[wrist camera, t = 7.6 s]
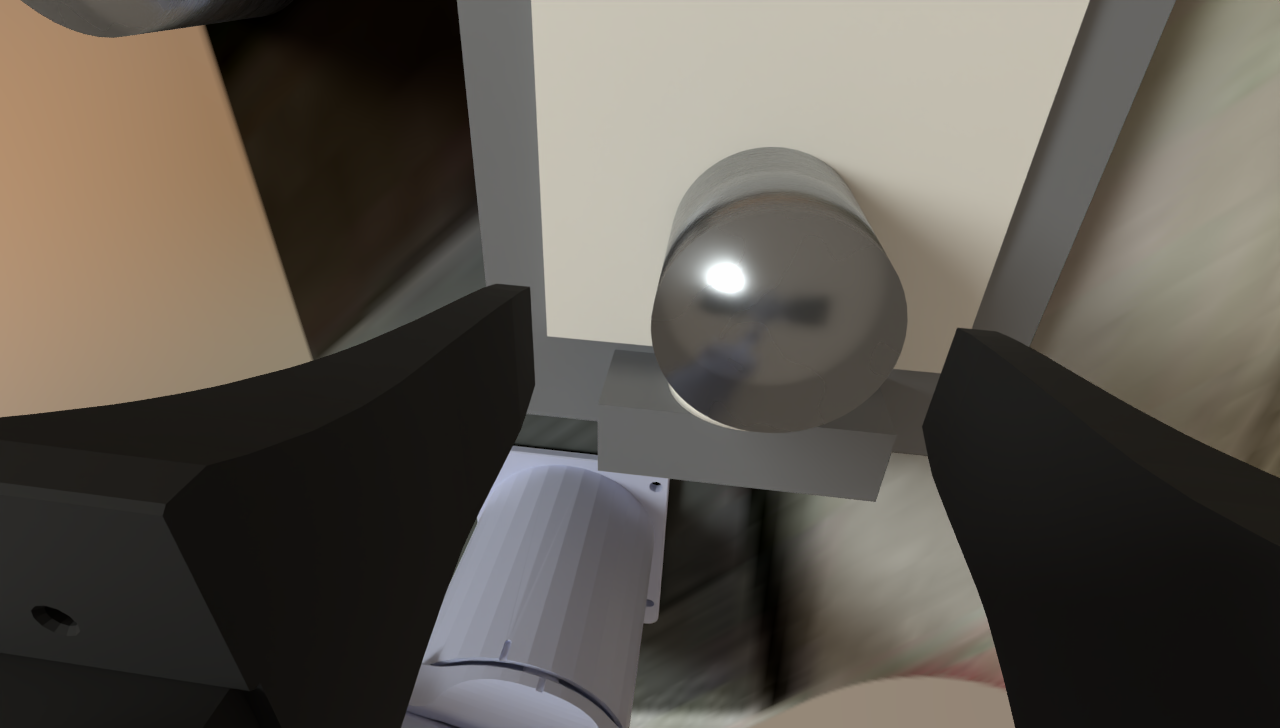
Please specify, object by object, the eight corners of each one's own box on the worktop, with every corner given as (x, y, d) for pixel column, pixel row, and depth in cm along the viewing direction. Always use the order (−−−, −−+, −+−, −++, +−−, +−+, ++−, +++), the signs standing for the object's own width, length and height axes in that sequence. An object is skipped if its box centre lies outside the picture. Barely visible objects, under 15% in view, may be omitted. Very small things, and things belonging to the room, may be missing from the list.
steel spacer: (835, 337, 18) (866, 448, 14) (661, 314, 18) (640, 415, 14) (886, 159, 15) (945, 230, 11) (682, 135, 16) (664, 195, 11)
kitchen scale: (961, 424, 22) (1023, 544, 17) (515, 379, 23) (462, 479, 19) (1240, -300, 12) (1542, -461, 8) (459, -304, 14) (322, -444, 9)
